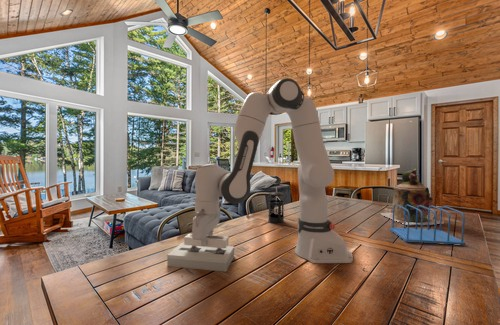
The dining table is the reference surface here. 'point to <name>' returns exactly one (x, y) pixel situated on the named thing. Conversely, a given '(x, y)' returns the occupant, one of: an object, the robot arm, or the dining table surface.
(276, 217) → the french press
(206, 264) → the mounting board
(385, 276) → the dining table surface
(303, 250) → the robot arm
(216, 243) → the cream rectangular block
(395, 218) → the cookie jar
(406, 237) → the file sorter
